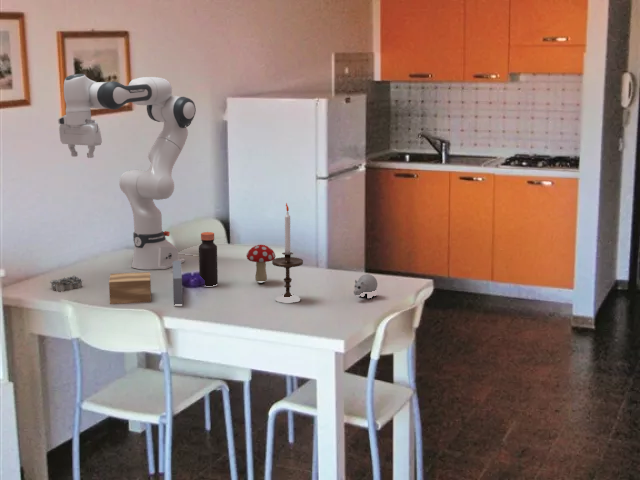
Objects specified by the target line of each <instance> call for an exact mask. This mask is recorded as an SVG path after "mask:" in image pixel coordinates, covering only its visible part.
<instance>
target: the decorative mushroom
mask: <svg viewBox="0 0 640 480" xmlns="http://www.w3.org/2000/svg"><path fill="white" fill-rule="evenodd" d="M245 257H246V260H248V261H249V262H253V263H256V264H255V266H256V269H255V270H256V271H255V278H254V279H255V281H256V282H257V281H266V282H267V280H268V275H267V269H266V268H267V263H268V262H272V260H273V259H276V258H277V257H276V253H275V251H274V250H273V249H272V248H271V247H269V246H267V245H266V244H265V245H264V244H257V245H253V247H251V248H250V249H249V250H248V251H247V253H246V256H245Z"/></svg>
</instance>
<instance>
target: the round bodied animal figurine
mask: <svg viewBox="0 0 640 480" xmlns="http://www.w3.org/2000/svg"><path fill="white" fill-rule="evenodd" d="M354 283H355V284H354V287H353V288H354V289H353V294H354V296H356V295H360V294H361V293H363V292H372V291H375V290H377V288H378V281H377V278H376V277H375V276H374V275H372V274H369V273H365V274H362V275H361V276H360V277H359V278H358V279H355V280H354Z"/></svg>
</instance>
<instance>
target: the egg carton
mask: <svg viewBox="0 0 640 480" xmlns="http://www.w3.org/2000/svg"><path fill="white" fill-rule="evenodd" d="M49 284H50V285H51V286H50V287H51V290H52V289H56V290H55V292H57V291H58V292H61V291H62V292H65V291H67V290H68V291H71V290H73V289H81V288H82V287H83V285H82V284H83V279H81V278H79V277H78V276H77V275H74V274H73V275H72V276H69V277H63V278H59V279H51V281H50V282H49Z"/></svg>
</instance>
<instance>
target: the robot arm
mask: <svg viewBox="0 0 640 480" xmlns="http://www.w3.org/2000/svg"><path fill="white" fill-rule="evenodd" d="M63 96H64V102H65V107H66V108H65V114H64V115H63V116H61V117H59V118H58V119H57V121H58V125H59V127H58V132H59V139H60V142H61V144H63V145H67V146H68V149H69V151H70V156H71V157H74V158H75V157H78V155H79V154H78V151H77V150H76V146H87V149H88V152H86V157H87V158H88V159H93V158H94V157H95V155H94V152H95V150H96V146H101V145H102V142H103V141H102V134H101V130H100V129H101V128H100V126H99V124H98V122H97V121H96V120H95V119H92V113H91V109H104V110H105V109H107V110H119V109H120V108H122V107H123V106H124V105H126V104H128V103H130V104H131V103H132V104H133V105H135V106H136V105H137V106H146V111H147V116H148V117H149V118H150V120H152V121H154V122H155V121H156V122H158V123H163V127H162V130H161V132H160V133H159V134H158V136H157V138H156V139H155V141H154V144H152V146H151V148H150V150H149V151H148V156H147V157H148V160H149V162H150V167H149V168H148V169H147V170H142V169H141V170H140V169H131V170H126V171H124V172H123V173H122V174H121V176H120V177H119V189H120V190H121V191H122V193H123V194H124V195H125V196H126V198H127V200H128V202H129V205H130V207H131V211H132V214H133V227H134V228H133V229H134V232H133V235H132V236H133V244H134V246H133V255H132V263H131V267H132V268H134V269H138V270H167V269H169V268H173V261H181V264H182V263H185V261H186V260H185V259H184V257H180V256H179V255H180V254H179V250H178V248H177V247H176V245H174V244H173V243H171V242H170V241H168V240H167V239H166V237H170V235H171V232H170V231H167V230H165V231H163V226H162V225H163V222H162V221H163V220H162V212H161V211H160V209H159V208H158V207H157V205H156V204H155V201H161V200H166V199H169V198H170V197H171V196H172V195H173V193H174V191H175V181H174V180H173V177H172V172H173V168H174V166H175V164H176V162H177V160H178V158H179V156H180V154H181V153H182V151H183V149H184V147H185V144H186V142H187V139H188V135H189V131H188V127H189V126H190V125H191V124H192V122H193V120H194V118H195V116H196V113H197V111H196V105H195V102H194V101H193V100H192V99H191V98H189V97H186V96H178V95H173V87H172V85H171V82H169V80H168V79H166V78H163V77H160V76H159V77H158V76H142V77H138V78H137V77H136V78H133V79H131V81H130V82H129V83H128V85H124V84H123V83H121V82H118V81H115V80H113V81H108V82H107V81H100V82H99V81H98V82H97V81H96V80H92V79H90V78H89V77H87V76H86V74H84V73H76V74H75V73H74V74H71V75H67V76H66V77H65V79H64V82H63ZM154 200H155V201H154Z"/></svg>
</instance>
